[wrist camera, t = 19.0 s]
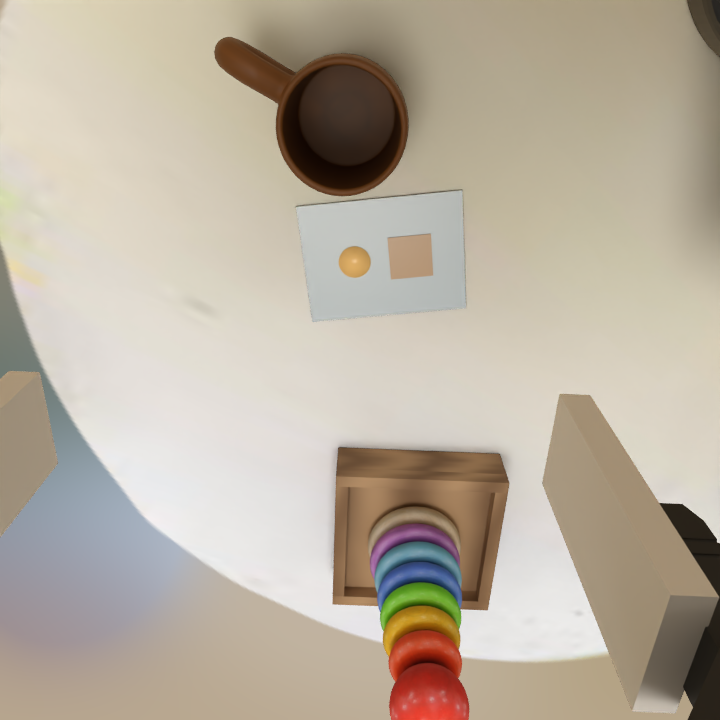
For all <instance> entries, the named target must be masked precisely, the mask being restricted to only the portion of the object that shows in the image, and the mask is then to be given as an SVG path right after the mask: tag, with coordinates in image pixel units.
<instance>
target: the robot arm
mask: <svg viewBox="0 0 720 720" xmlns="http://www.w3.org/2000/svg"><path fill="white" fill-rule="evenodd" d="M688 3H689V8H690V11H691V14H692V17H693V20H694V22H695V25H696V27H697V29H698V31H699V32H700V34H701V36H702V37H703V39H704V40H705V42H706V43H707V44H708V46H709V47H710V48H711V49H712V50H713V51H714V52H715V53H716V54H717V55H718V56H719V57H720V0H688ZM57 464H58V461H57V456H56V451H55V446H54V441H53V436H52V431H51V426H50V421H49V416H48V411H47V406H46V401H45V396H44V391H43V386H42V381H41V377H40V373H39V372H17V371H9V372H8V373H7V374H5V375H4V376H3V377H2V378H1V379H0V537H1V536H2V534H3V533H4V532H5V531H6V529H7V528H8V527H9V525H10V524H11V523H12V522H13V520H14V519H15V518H16V516H17V515H18V514H19V513H20V511H21V510H22V509H23V507H24V506H25V505H26V504H27V502H28V501H29V500H30V499H31V497H32V496H33V495H34V493H35V492H36V491H37V489H38V488H39V487H40V486H41V484H42V483H43V482H44V480H45V479H46V478H47V477H48V475H49V474H50V473H51V472H52V470H53V469H54V468H55V466H56V465H57ZM542 484H543V487H544V489H545V492H546V494H547V497H548V499H549V502H550V505H551V507H552V510H553V512H554V515H555V517H556V520H557V522H558V525H559V527H560V530H561V532H562V535H563V538H564V540H565V543H566V545H567V548H568V550H569V553H570V555H571V558H572V560H573V563H574V565H575V568H576V570H577V573H578V576H579V578H580V581H581V583H582V586H583V588H584V591H585V593H586V596H587V598H588V601H589V603H590V606H591V609H592V611H593V614H594V616H595V619H596V621H597V624H598V626H599V629H600V631H601V634H602V636H603V639H604V641H605V644H606V647H607V649H608V652H609V654H610V657H611V659H612V662H613V664H614V667H615V669H616V672H617V674H618V677H619V679H620V682H621V685H622V687H623V690H624V692H625V695H626V697H627V700H628V702H629V705H630V707H631V710H632V711H635V712H636V711H637V712H659V713H676V710H677V708H678V705H679V703H680V700H681V697H682V695H683V692H684V690H685V692H686V694H687V696H688V698H689V700H690V702H691V704H692V706H693V709H692V711H691V713H690V716H689V718H688V720H720V543H717V539H716V537H715V536H714V535H713V533H712V532H711V530H710V529H709V528H708V526H707V525H706V523H705V522H704V521H703V520H702V519H701V518H699V517H698V516H697V515H696V514H694V513H693V512H692V511H690V510H689V509H688V508H687V507H685V506H684V505H683V504H666V503H659V502H658V501H657V499H656V498H655V496H654V494H653V493H652V491H651V490H650V488H649V487H648V485H647V483H646V482H645V480H644V479H643V477H642V476H641V474H640V472H639V471H638V469H637V468H636V466H635V465H634V463H633V462H632V460H631V458H630V457H629V455H628V454H627V452H626V451H625V449H624V447H623V446H622V444H621V443H620V441H619V440H618V438H617V437H616V435H615V433H614V432H613V430H612V429H611V427H610V426H609V424H608V422H607V421H606V419H605V418H604V416H603V415H602V413H601V411H600V410H599V408H598V407H597V405H596V404H595V402H594V401H593V399H592V397H591V396H590V395H573V394H560V395H559V400H558V405H557V410H556V415H555V421H554V426H553V431H552V436H551V441H550V446H549V451H548V456H547V462H546V467H545V472H544V477H543V482H542Z"/></svg>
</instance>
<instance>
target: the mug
mask: <svg viewBox="0 0 720 720" xmlns="http://www.w3.org/2000/svg"><path fill="white" fill-rule="evenodd" d="M214 53H215V59H216V61H217V63H218V64H219V66H220V67H221V68H222V69H224V70H225V71H226V72H227V73H228V74H230V75H231V76H233V77H234V78H236V79H237V80H239V81H240V82H242V83H243V84H245V85H247V86H248V87H250V88H252V89H254V90H256V91H257V92H259V93H261V94H263V95H264V96H266V97H268V98H270V99H271V100H273V101H275V102H276V103H278V105H279V106H278V110H277V116H276V134H277V140H278V145H279V148H280V151H281V154H282V156H283V158H284V160H285V162H286V163H287V165H288V166H289V168H290V169H291V171H292V172H293V173H294V174H295V175H296V176H297V177H298V178H299V179H300V180H301V181H302V182H303V183H305V184H306V185H308V186H309V187H311V188H313V189H315V190H317V191H319V192H322V193H325V194H329V195H334V196H351V195H357V194H360V193H364V192H366V191H368V190H371V189H373V188H374V187H376V186H377V185H379V184H381V183H382V182H383V181H384V180H385V179H386V178H387V177H388V176H389V175H390V174H391V173H392V172H393V170H394V169H395V168H396V166H397V165H398V163H399V161H400V159H401V157H402V155H403V152H404V149H405V146H406V141H407V137H408V128H409V124H408V112H407V107H406V103H405V100H404V97H403V95H402V92H401V90H400V89H399V87H398V85H397V83H396V82H395V81H394V79H393V78H392V77H391V76H390V75H389V74H388V73H387V72H386V71H385V70H384V69H383V68H382V67H381V66H379V65H378V64H377V63H375V62H373V61H371V60H370V59H367V58H365V57H362V56H358V55H354V54H345V53H341V54H331V55H326V56H323V57H321V58H318V59H316V60H314V61H312V62H310V63H309V64H307V65H306V66H304V67H303V68H302V69H301V70H300V71H299V72H297V73H295V72H293V71H291V70H290V69H288V68H286V67H285V66H283V65H282V64H280V63H278V62H277V61H275V60H274V59H272V58H270V57H269V56H267V55H266V54H264V53H262V52H261V51H259V50H257V49H256V48H254V47H252V46H250V45H248V44H246V43H245V42H243V41H240V40H238V39H235V38H233V37H225V38H223V39H221V40H220V41H219V42H218V43H217V45H216V47H215V51H214Z"/></svg>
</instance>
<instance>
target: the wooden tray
mask: <svg viewBox="0 0 720 720" xmlns="http://www.w3.org/2000/svg"><path fill="white" fill-rule="evenodd" d="M508 488H509V481H508V478H507V474H506V471H505V468H504V465H503V462H502V459H501V456H500V454H489V453H464V452H439V451H413V450H388V449H363V448H338V460H337V473H336V503H335V539H334V575H333V604H338V605H365V606H378V602H377V594H378V593H377V591H376V587H375V581H374V578H373V576H372V574H371V570H370V557H369V553H368V540H369V536H370V534H371V531H372V529H373V528H374V526H375V525H376V524H377V523H378V521H379V520H381V519H382V518H383V517H384V516H386V515H387V514H389V513H390V512H393V511H395V510H397V509H401V508H405V507H414V506H416V507H426V508H430V509H433V510H436V511H438V512H440V513H442V514H443V515H445V516H446V517H447V518H448V519H449V520H451V522H452V523H453V524H454V525H455V527H456V529H457V531H458V533H459V536H460V541H461V551H460V555H459V556H460V571H461V576H462V583H461V592H462V604H461V608H460V609H469V610H488V605H489V600H490V594H491V588H492V582H493V576H494V570H495V564H496V559H497V553H498V547H499V541H500V535H501V529H502V523H503V518H504V512H505V506H506V500H507V494H508Z"/></svg>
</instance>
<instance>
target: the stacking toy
mask: <svg viewBox="0 0 720 720" xmlns="http://www.w3.org/2000/svg"><path fill="white" fill-rule="evenodd" d="M460 551H461V541H460V536H459V533H458V531H457V529H456V527H455V525H454V524H453V523H452V522H451V520H449V519H448V518H447V517H446V516H445V515H443V514H442V513H440V512H438V511H436V510H433V509H430V508H426V507H416V506H414V507H405V508H401V509H397V510H395V511H393V512H390V513H389V514H387V515H386V516H384V517H383V518H382V519H381V520H379V521H378V523H377V524H376V525H375V526H374V528H373V529H372V531H371V534H370V536H369V540H368V553H369V557H370V570H371V574H372V576H373V578H374V581H375V587H376V591H377V593H378V594H377V602H378V607H379V610H380V612H381V613H380V621H381V626H382V629H383V631H384V633H383V645H384V648H385V651H386V653H387V655H388V656H389V669H390V672H391V675H392V677H393V679H394V680H395V684H394V686H393V689H392V691H391V696H390V704H389V708H390V716H391V720H468V719H469V703H468V698H467V695H466V692H465V689H464V687H463V685H462V683H461V682H460V681H459V679H458V678H459V676H460V673H461V668H462V659H461V655H460V652H459V646H460V633H459V628H460V624H461V611H460V608H461V604H462V592H461V583H462V576H461V571H460V556H459V555H460Z"/></svg>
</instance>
